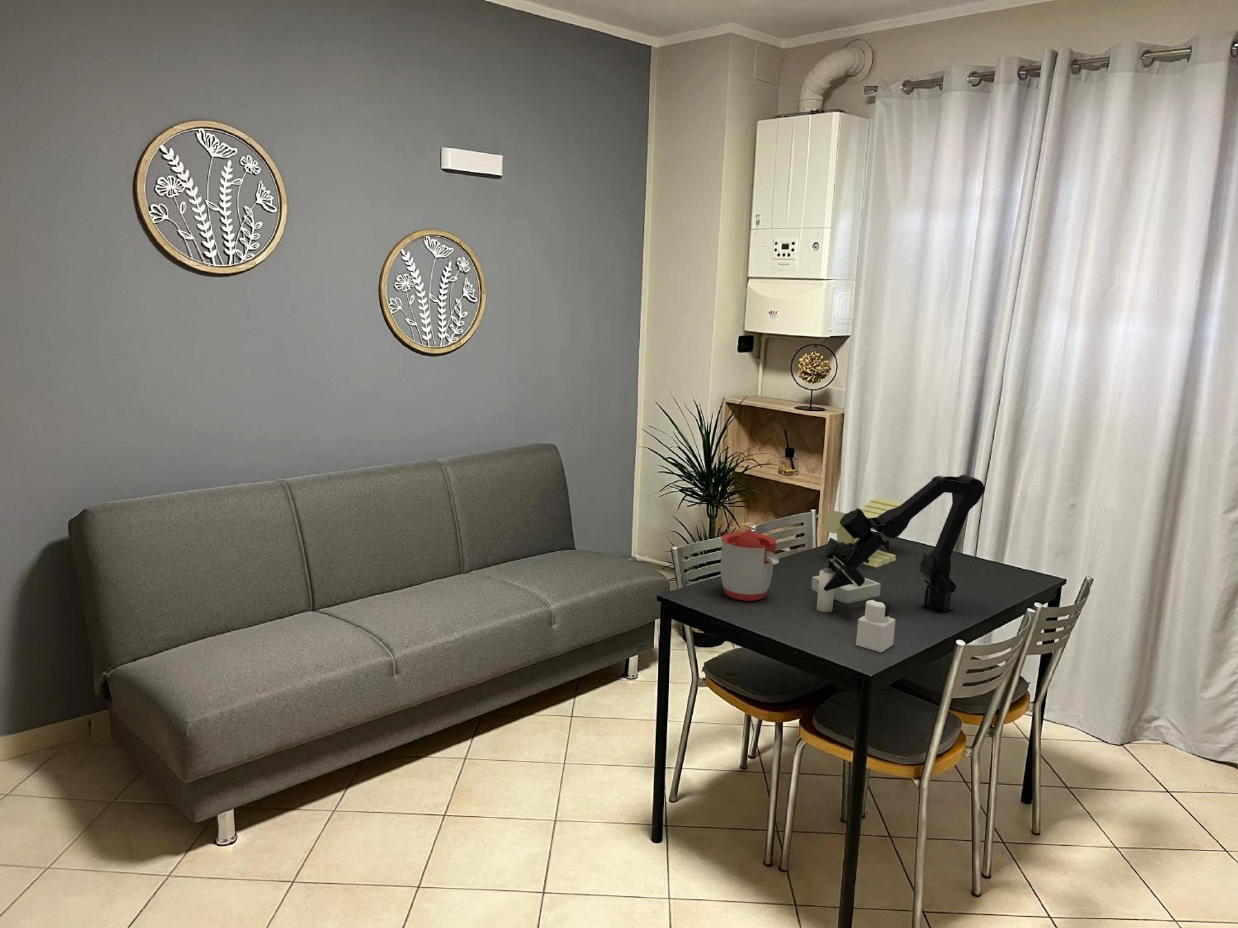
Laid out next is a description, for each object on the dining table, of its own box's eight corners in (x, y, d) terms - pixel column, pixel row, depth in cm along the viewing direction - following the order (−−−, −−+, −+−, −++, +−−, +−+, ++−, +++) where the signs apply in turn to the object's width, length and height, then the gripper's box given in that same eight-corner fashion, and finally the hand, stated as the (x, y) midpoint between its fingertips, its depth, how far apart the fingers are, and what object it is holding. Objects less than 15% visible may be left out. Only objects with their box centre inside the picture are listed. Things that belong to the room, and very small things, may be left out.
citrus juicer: (760, 609, 259) (765, 541, 255) (707, 595, 269) (711, 528, 265) (786, 596, 271) (791, 530, 267) (735, 582, 281) (739, 519, 277)
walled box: (879, 596, 274) (880, 583, 273) (846, 604, 266) (847, 590, 265) (843, 582, 285) (845, 570, 284) (811, 589, 278) (812, 576, 277)
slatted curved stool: (866, 544, 329) (871, 495, 325) (908, 555, 318) (913, 504, 314) (820, 560, 307) (825, 508, 304) (863, 572, 296) (868, 518, 293)
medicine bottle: (867, 637, 241) (871, 593, 239) (893, 645, 237) (897, 600, 235) (855, 645, 236) (859, 600, 234) (881, 653, 232) (886, 607, 229)
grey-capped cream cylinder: (835, 610, 261) (839, 569, 258) (824, 613, 258) (828, 571, 256) (824, 605, 264) (827, 565, 262) (813, 608, 262) (816, 567, 259)
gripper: (833, 520, 266) (793, 557, 267) (857, 538, 248) (814, 578, 249) (857, 547, 269) (817, 583, 270) (882, 567, 251) (840, 606, 251)
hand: (821, 587), depth 260 cm, fingers closed on grey-capped cream cylinder, 4 cm apart
